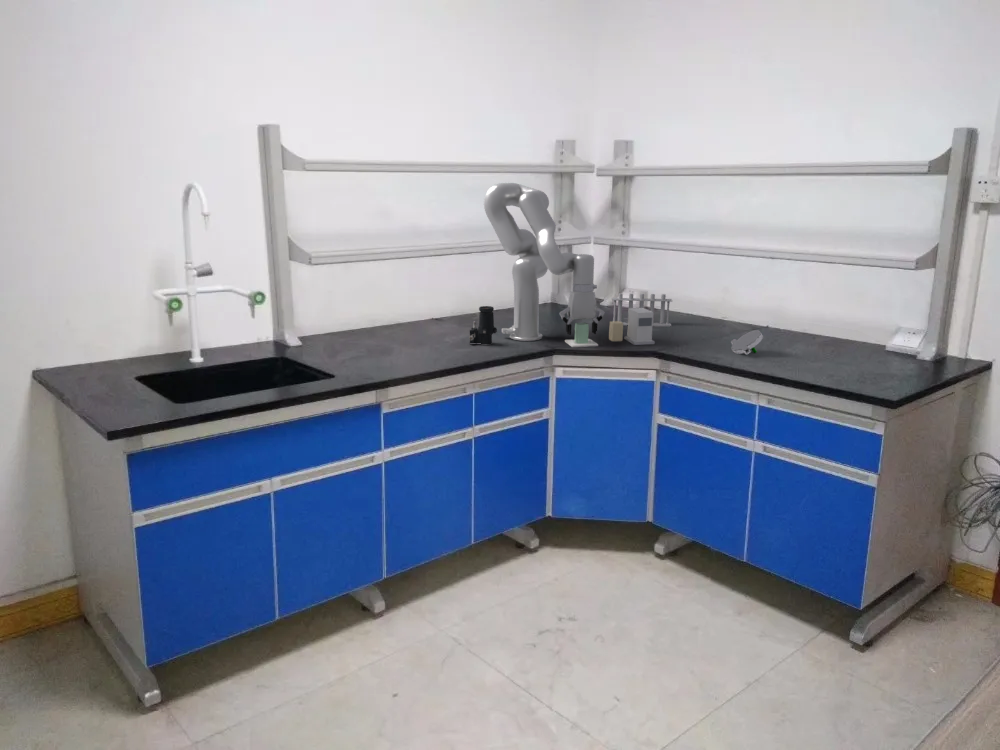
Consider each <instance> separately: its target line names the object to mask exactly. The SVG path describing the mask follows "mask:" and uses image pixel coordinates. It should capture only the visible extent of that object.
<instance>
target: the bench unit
mask: <svg viewBox="0 0 1000 750" xmlns="http://www.w3.org/2000/svg"><path fill="white" fill-rule="evenodd" d="M627 309H628V312H627V322H628V326H627V331H626V332H627V334H626V335H624V336H623V337H624V338H623V340H626V341H627V342H629V343H631V344H632V345H634V346H636V345H637V346H638V345H641V346H642V345H644V346H645V345H655V343H656V342H655V340H653V339H652V338H653V327H654V326H653V323H654V320H653V312H651V311H650V309H647V308H644V307H643V308H639V307H633V308H629V307H627Z"/></svg>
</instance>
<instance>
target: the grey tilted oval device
mask: <svg viewBox="0 0 1000 750" xmlns="http://www.w3.org/2000/svg"><path fill="white" fill-rule="evenodd" d="M763 339H764V335H763V334H762V332H761V331H760V330H758V329H754V330H751V331H749V332H746V333H745V334H743V335H741V336H740V337H739V338H738V339H736V338H734V339H732V340H731V341H730V343H731V347H730V349H731V351H732V352H733V353H735V354H736V355H741V354H744V355H749V354H750V353H751V352H752V353H753V352H754V353H753V354H756V353H758V350H757V349H756V348H755V347H756V346H757V345H759V343H761V341H762V340H763Z"/></svg>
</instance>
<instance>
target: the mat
mask: <svg viewBox="0 0 1000 750" xmlns="http://www.w3.org/2000/svg"><path fill="white" fill-rule="evenodd" d="M564 342H565V343H566V344H567V345H569V346H570V347H571V348H584V347H585V348H587V347H599V344H598V343H597V342H595V341H594V340H592V339H591V338H588V343H576V342H575V339H565V340H564Z"/></svg>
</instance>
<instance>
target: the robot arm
mask: <svg viewBox="0 0 1000 750" xmlns="http://www.w3.org/2000/svg"><path fill="white" fill-rule="evenodd" d="M483 205H484V206H483V209H484V212H485V214H486V217H487V218H488V221H489V222H490V224H491V226H492V227H493V230H494V232H495V234H496V236H497V238H498V240H499V242H500V244H501V246H502V248H503V250H504V251H505V253H506V254H507V255H509V256H519V258H517V259H516V260H515V261H514V263H513V265H512V269H511V270H512V271H511V274H512V281H513V296H514V297H513V325H511V326H510V327H509V328H507V327H503V328H501V334H507V335H509V338H510V339H511V340H514V341H521V342H527V341H528V342H531V341H532V342H533V341H539V340H541V339H543V334H542V333H540V332H539V326H540V325H539V321H540V320H539V319H540V318H539V316H540V314H539V313H540V311H539V310H540V309H539V308H540V289H539V283H538V279H539V278H542V277H544V276H545V275H546V274H547V272H548V270H549V271H550V273H552V274H553V275H555V276H562V275H565V274H569V273H572V291H570V292H569V295H568V304H567V307H566V308H565V309H563V310H561V311H560V312H559V316H560V317H561V320H562V321H563V322H564V323H565V333H566V334H567V335H568V336H572V324H571V323H572V322H573V321H574V320H592V322H591V333H592V334H594V335H596V334H597V332H598V324H599V322H601V320H603V317H604V315H605V313H606V311H605V310H603V309H601V308H599V307H597V300H596V297H597V296H596V293H595V291H594V290H595V289H597V287H598V285H597V284H594V275H595V272H594V269H595V258H594V256H593V255H592V254H587V253H584V254H583V253H581V254H578V253H577V254H576V253H573V252H563V253H562V252H561V250H560V249H559V247H558V245H557V243H556V239H555V232H556V226H557V225H556V222H555V220H554V219H553V217H552V216H551V214H550V213H549V210H548V207H549V206H550V200H549V196H548V195H547V194H546V193H545V191H542V190H540V189H535V188H532V187H529V186H525V185H522V184H519V183H514V182H501V183H500V182H499V183H495V184H494V185H492V186H490V187H489V189H488V190H487V191H486V194H485V195H484V198H483ZM510 206H513V207H517V208H519V209H520V211H521V213H522V214H523V216H524V217H525V219H526V221H527V223H528V224H529V225H528V226H530V228H531V230H532V232H531V231H530V230H528V229H525V228H521V229H520V227H519V226H518V224H517V223H516V220H515V218H514V216H513V215H512V214H511V212H510V211H509V210H508V208H507V207H510ZM597 312H598V313H599V315H597ZM565 314H567V318H566V317H565Z"/></svg>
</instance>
